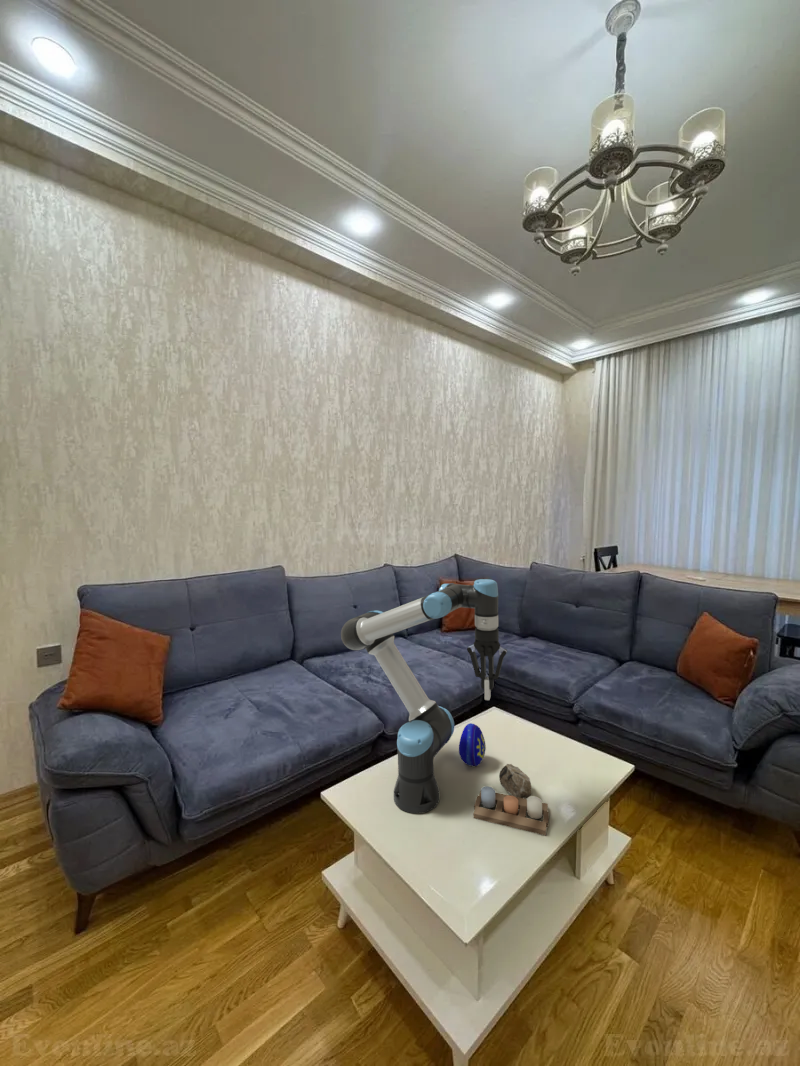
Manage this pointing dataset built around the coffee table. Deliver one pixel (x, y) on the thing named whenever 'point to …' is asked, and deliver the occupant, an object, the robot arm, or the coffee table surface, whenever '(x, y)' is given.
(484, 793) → the button slate
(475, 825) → the coffee table surface
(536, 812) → the button cream
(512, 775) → the stone
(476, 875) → the coffee table surface
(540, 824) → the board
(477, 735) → the ornament
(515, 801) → the button terracotta
